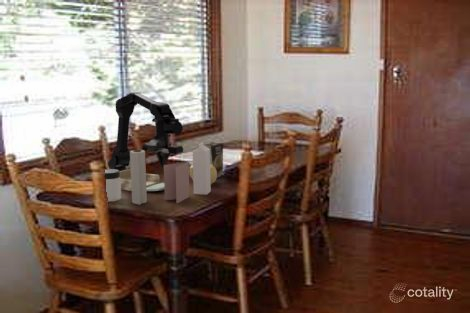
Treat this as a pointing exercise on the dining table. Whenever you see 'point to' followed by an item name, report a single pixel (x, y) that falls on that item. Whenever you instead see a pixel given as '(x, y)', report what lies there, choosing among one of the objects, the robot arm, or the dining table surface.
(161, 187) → the pale grey-green rectangular panel
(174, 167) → the greeting card
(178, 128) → the robot arm
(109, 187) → the jar
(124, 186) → the beige shallow tray
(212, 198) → the dining table surface
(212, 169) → the sculpture
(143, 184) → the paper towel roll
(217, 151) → the coffee box
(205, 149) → the milk
